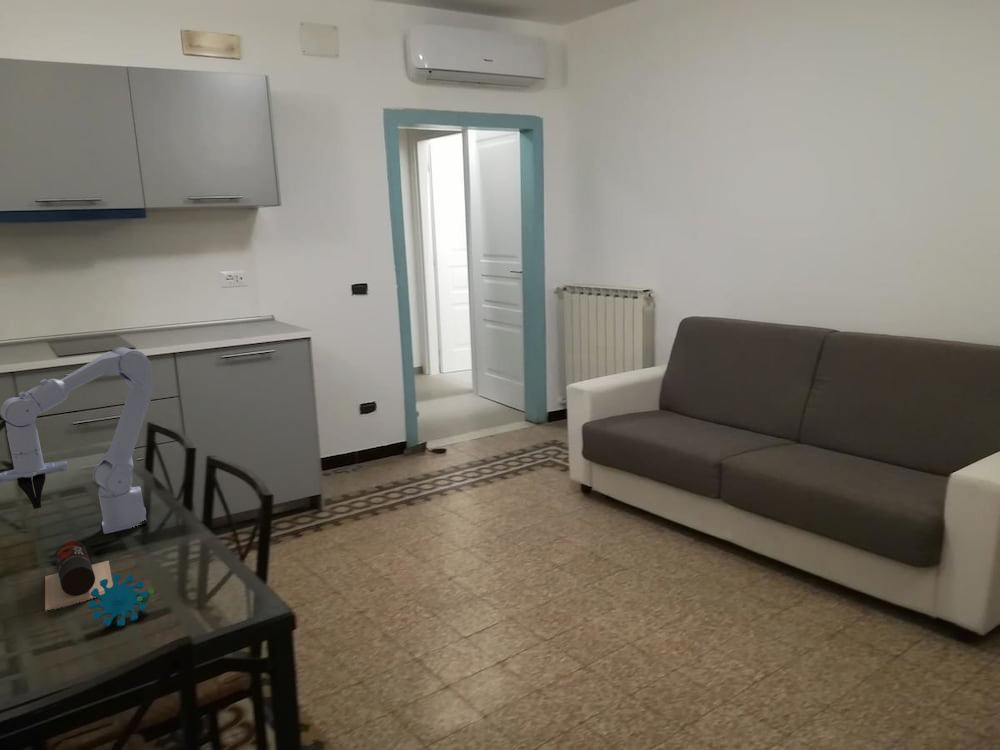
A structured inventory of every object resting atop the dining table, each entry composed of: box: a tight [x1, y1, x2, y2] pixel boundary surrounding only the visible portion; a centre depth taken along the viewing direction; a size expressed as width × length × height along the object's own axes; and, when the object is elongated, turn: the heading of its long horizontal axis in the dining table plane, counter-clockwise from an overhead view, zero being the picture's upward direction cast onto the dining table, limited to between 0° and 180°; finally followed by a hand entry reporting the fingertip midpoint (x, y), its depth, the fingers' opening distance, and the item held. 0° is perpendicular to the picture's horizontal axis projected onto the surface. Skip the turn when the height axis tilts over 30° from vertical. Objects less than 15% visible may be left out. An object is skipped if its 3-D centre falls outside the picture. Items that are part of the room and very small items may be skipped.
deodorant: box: [54, 540, 95, 596], centre depth 153 cm, size 6×6×15 cm
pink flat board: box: [44, 560, 114, 612], centre depth 152 cm, size 12×16×1 cm
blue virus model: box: [88, 574, 155, 627], centre depth 140 cm, size 11×6×10 cm
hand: (37, 506), depth 168 cm, fingers closed
